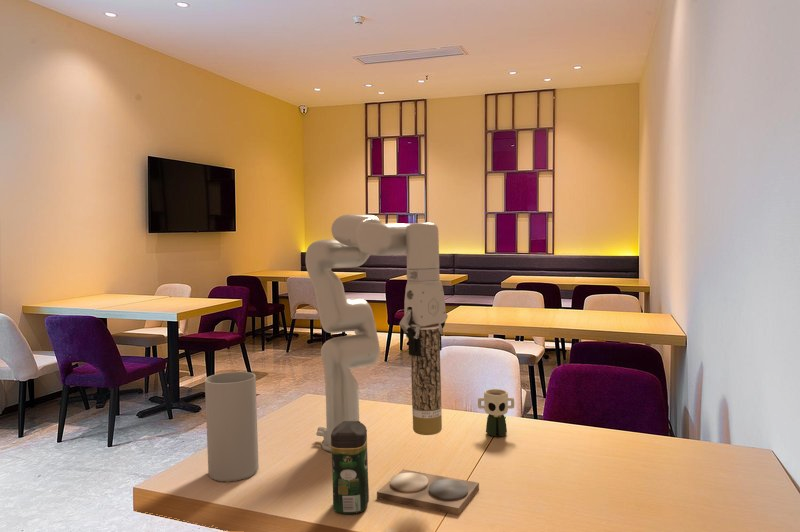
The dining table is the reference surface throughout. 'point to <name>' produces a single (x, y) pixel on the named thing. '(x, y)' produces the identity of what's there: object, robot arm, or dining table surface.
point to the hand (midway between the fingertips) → (425, 352)
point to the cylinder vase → (231, 425)
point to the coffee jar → (349, 467)
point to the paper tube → (427, 383)
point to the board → (429, 491)
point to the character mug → (496, 410)
